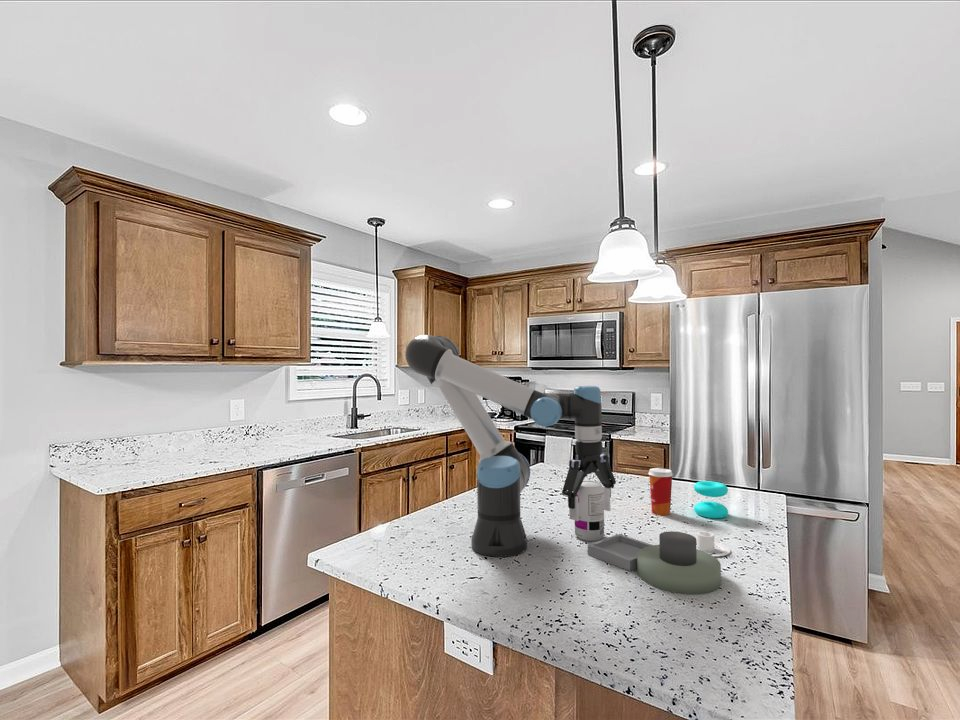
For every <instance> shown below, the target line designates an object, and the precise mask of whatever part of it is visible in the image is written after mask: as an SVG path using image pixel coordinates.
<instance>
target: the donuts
mask: <svg viewBox="0 0 960 720" xmlns="http://www.w3.org/2000/svg"><path fill="white" fill-rule="evenodd" d="M693 488H694V491H695V492H696V494H699V495H700V496H703V497H707V498H721V497H724V496H726V495H727V494H728V492H729V487H727V485H726V484H724V483H721V482H717V481H710V480H702V481H697V482H695V483H694V485H693ZM693 508H694V509H693V510H694V512H695V513H696V515H698V516H700V517H703V518H708V519H724V518H726V517H727V516H728V514H729V510H728V508H727V507H726V506H725V504H722V503H720V502H717V501H707V500H706V501H700V502H697V503H696V504H695V505H694V506H693Z"/></svg>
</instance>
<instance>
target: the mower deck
mask: <svg viewBox="0 0 960 720" xmlns="http://www.w3.org/2000/svg"><path fill="white" fill-rule="evenodd" d="M696 539H697V537H695V536H694V535H692V534H691V533H686V532H681V531H672V530H671V531H664V532H661V533H659V544H654V545H653V544H651V543H647V542H645V541H642V540H639V539H636V538H632V537H631V536H627V535H623V534H620V533H618V534H615V535H612V536H610V537H606V538H604V539H600V540H596V541H595V542H591V543H589V544H587V555H588V556H590V555H591V557H594V558H596V559H598V560H601V561H603V562H606V563H608V564H610V565H614V566H616V567H619V568H621V569H623V568H624V569H623V570H626V571H628V570H629V572H631V570H632V571H634V570H636V569H637V576H638V577H639V578H640V579H641V581H643V582H645V583H647V584H648V585H649V586H650V585H651V586H652V587H654V588H657V589H659V590H663V591H667V592H670V593H676V594H683V595H702V594H709V593H713V592H715V591H717V590H718V589H719V588H720V587H721V585H722V577H721V576H722V566H721V561H719V559H718V558H716V556H712V555H713V554H710V553H709V552H707V551H702V550H699V549H698V548H697V543H696ZM633 569H634V570H633Z"/></svg>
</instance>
